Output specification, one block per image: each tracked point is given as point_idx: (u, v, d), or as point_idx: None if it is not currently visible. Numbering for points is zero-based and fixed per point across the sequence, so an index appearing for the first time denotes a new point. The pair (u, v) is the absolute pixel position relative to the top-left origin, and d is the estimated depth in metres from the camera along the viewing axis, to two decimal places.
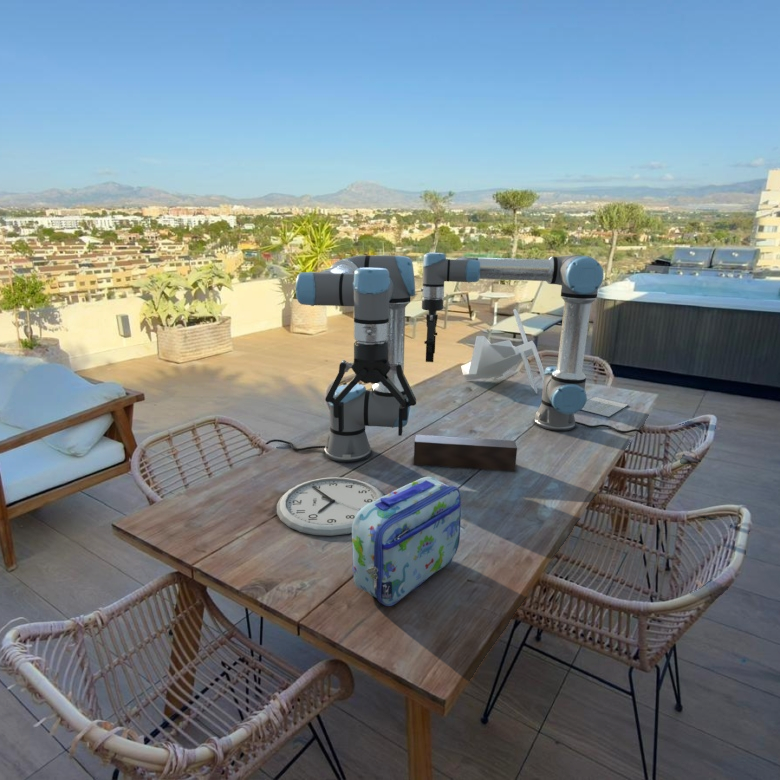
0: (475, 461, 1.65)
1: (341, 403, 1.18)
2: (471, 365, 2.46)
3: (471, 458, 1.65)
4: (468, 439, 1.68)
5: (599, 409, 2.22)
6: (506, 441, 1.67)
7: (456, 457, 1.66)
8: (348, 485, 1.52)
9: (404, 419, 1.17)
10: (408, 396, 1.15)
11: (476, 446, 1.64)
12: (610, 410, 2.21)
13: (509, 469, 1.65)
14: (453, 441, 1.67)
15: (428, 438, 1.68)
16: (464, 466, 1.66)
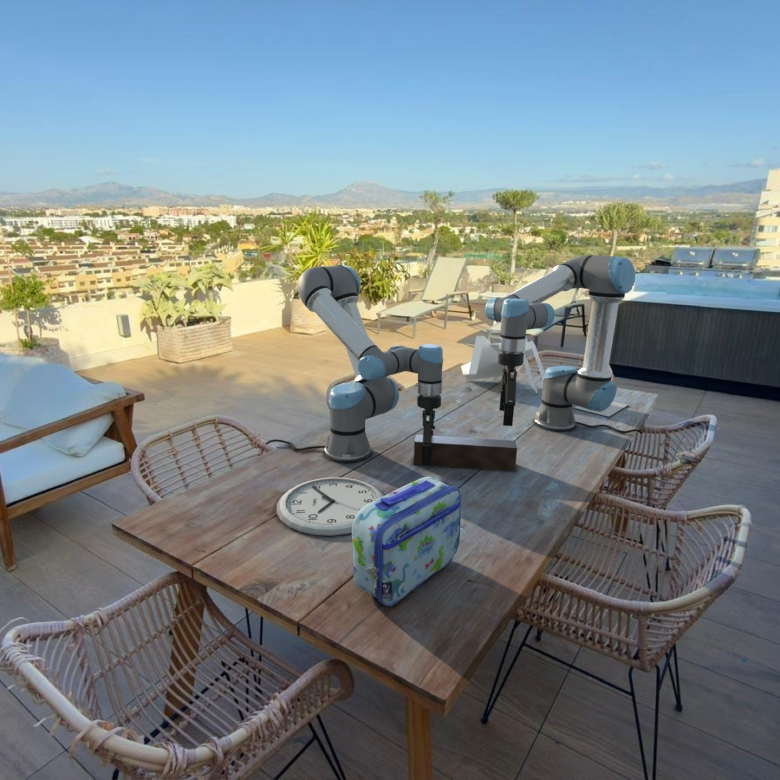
0: (475, 461, 1.65)
1: None
2: (471, 365, 2.46)
3: (471, 458, 1.65)
4: (468, 439, 1.68)
5: None
6: (506, 441, 1.67)
7: (456, 457, 1.66)
8: (348, 485, 1.52)
9: (424, 455, 1.61)
10: (423, 439, 1.59)
11: (476, 446, 1.64)
12: (610, 410, 2.21)
13: (509, 469, 1.65)
14: (453, 441, 1.67)
15: None
16: (464, 466, 1.66)
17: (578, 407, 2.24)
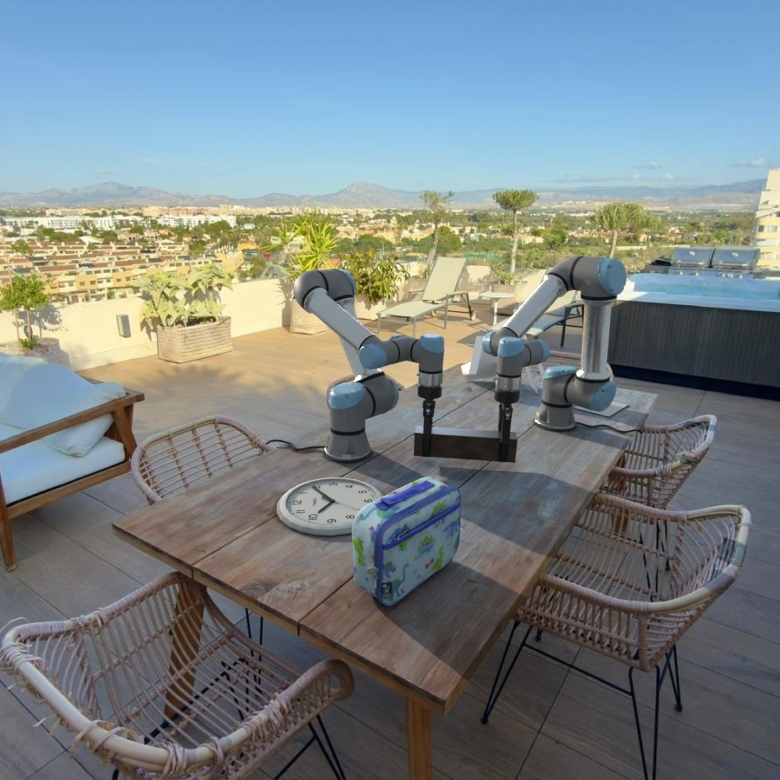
0: (475, 452, 1.65)
1: None
2: (471, 365, 2.46)
3: (471, 449, 1.65)
4: (468, 430, 1.68)
5: None
6: None
7: (456, 449, 1.65)
8: (348, 485, 1.52)
9: (424, 446, 1.65)
10: (423, 431, 1.62)
11: (476, 438, 1.63)
12: (610, 410, 2.21)
13: (509, 460, 1.64)
14: (453, 432, 1.66)
15: None
16: (464, 457, 1.66)
17: (578, 407, 2.24)
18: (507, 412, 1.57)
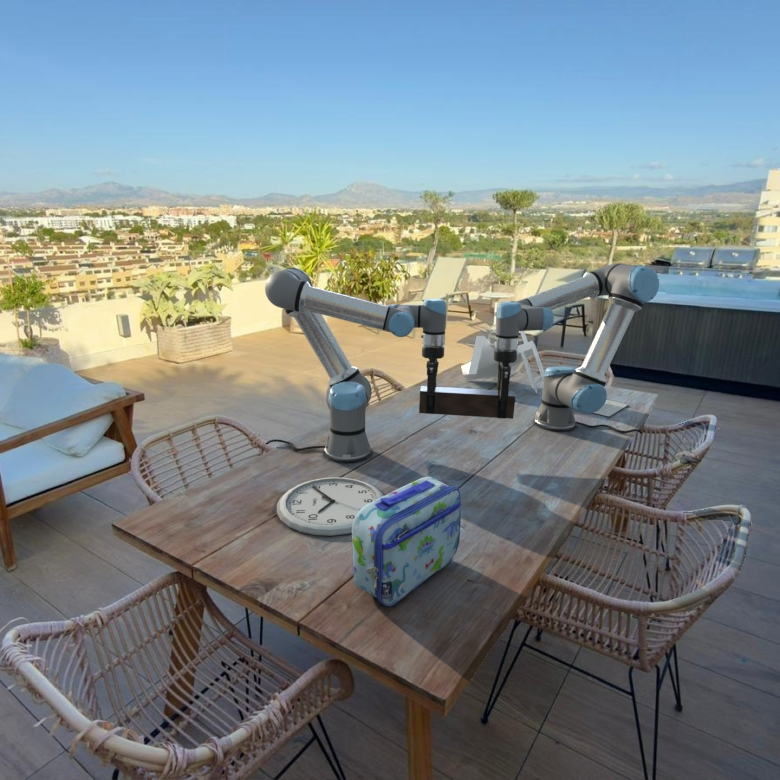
0: (476, 409, 1.78)
1: None
2: (471, 365, 2.46)
3: (472, 406, 1.78)
4: (470, 389, 1.81)
5: (599, 409, 2.22)
6: None
7: (458, 406, 1.78)
8: (348, 485, 1.52)
9: (428, 403, 1.78)
10: (427, 388, 1.75)
11: (477, 395, 1.76)
12: (610, 410, 2.21)
13: (508, 416, 1.77)
14: (456, 391, 1.79)
15: None
16: (466, 414, 1.79)
17: None
18: (506, 370, 1.70)
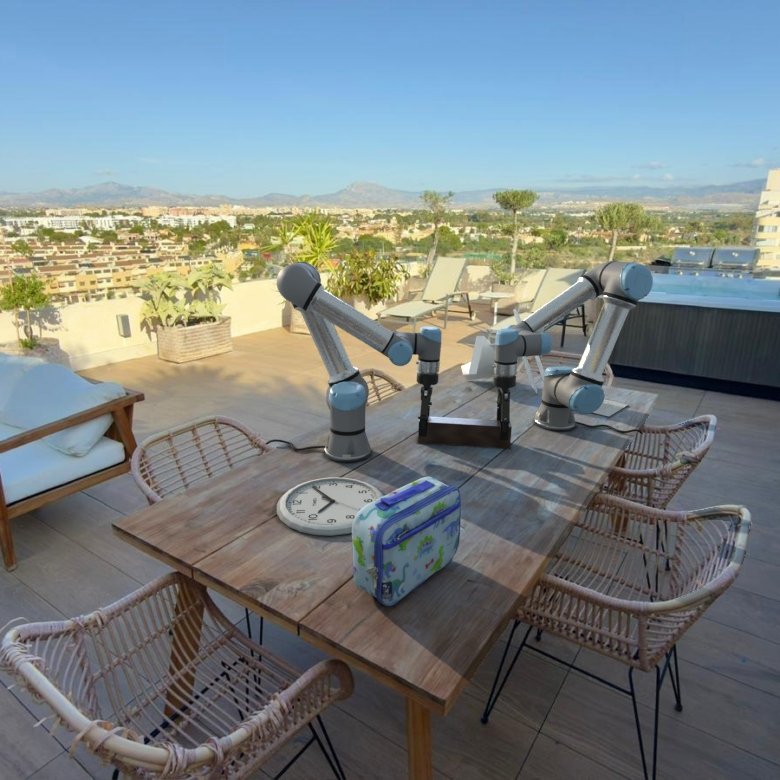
0: (473, 439, 1.82)
1: None
2: (471, 365, 2.46)
3: (470, 437, 1.82)
4: (467, 419, 1.85)
5: (599, 409, 2.22)
6: None
7: (456, 436, 1.83)
8: (348, 485, 1.52)
9: (421, 426, 1.79)
10: (420, 412, 1.76)
11: (475, 426, 1.81)
12: (610, 410, 2.21)
13: (504, 446, 1.82)
14: (454, 421, 1.84)
15: (431, 419, 1.85)
16: (464, 444, 1.83)
17: None
18: (505, 393, 1.75)
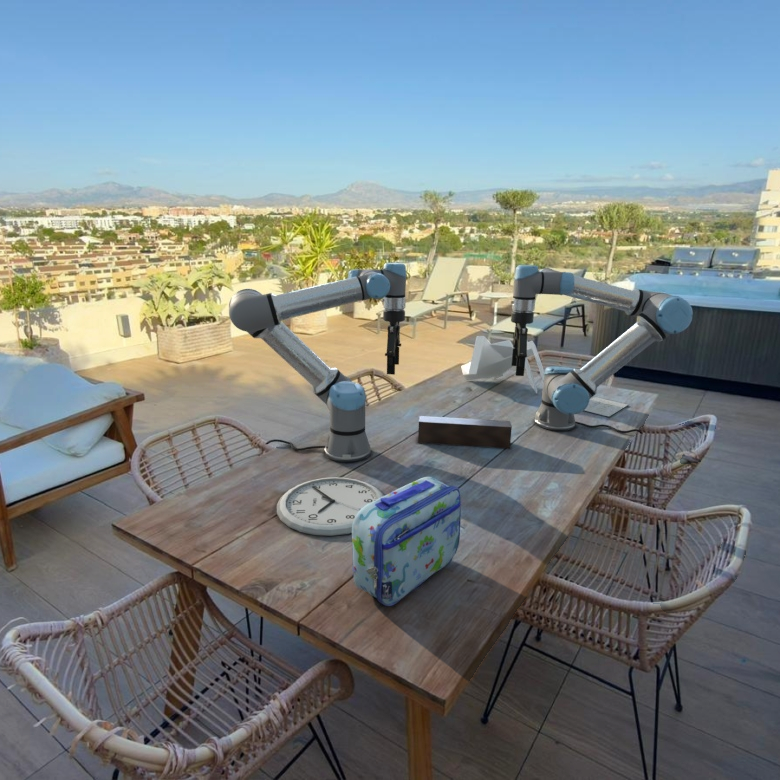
0: (473, 439, 1.82)
1: (396, 347, 1.90)
2: (471, 365, 2.46)
3: (470, 437, 1.82)
4: (467, 419, 1.85)
5: (599, 409, 2.22)
6: (502, 421, 1.84)
7: (456, 436, 1.83)
8: (348, 485, 1.52)
9: (388, 364, 1.77)
10: (387, 348, 1.75)
11: (475, 426, 1.81)
12: (610, 410, 2.21)
13: (504, 446, 1.82)
14: (454, 421, 1.84)
15: (431, 419, 1.85)
16: (464, 444, 1.83)
17: None
18: (523, 328, 1.77)
